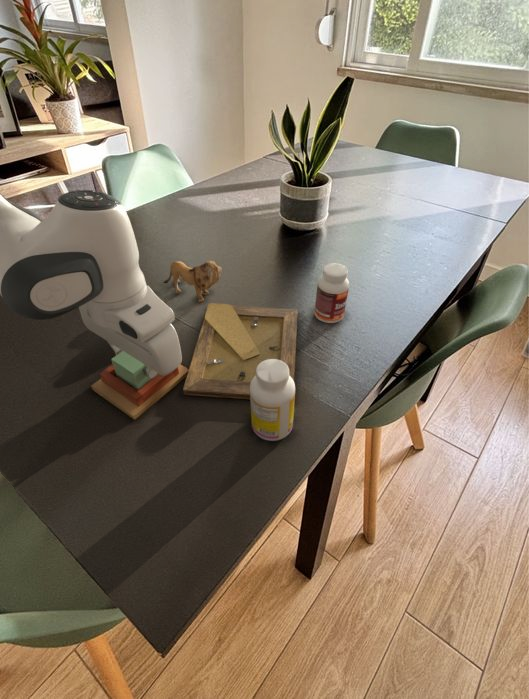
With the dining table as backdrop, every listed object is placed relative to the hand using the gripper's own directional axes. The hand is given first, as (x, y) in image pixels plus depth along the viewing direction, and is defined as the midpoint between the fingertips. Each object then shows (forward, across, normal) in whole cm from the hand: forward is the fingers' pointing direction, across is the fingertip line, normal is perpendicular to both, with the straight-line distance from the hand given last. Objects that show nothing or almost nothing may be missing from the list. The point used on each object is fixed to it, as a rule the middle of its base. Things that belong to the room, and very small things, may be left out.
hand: (137, 366), depth 73 cm
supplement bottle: (+4, +24, +6) cm, 25 cm away
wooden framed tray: (+4, 0, 0) cm, 4 cm away
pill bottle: (+4, +17, +36) cm, 40 cm away
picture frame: (+4, +10, +17) cm, 20 cm away
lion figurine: (+4, -11, +25) cm, 28 cm away
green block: (+2, 0, 0) cm, 2 cm away
